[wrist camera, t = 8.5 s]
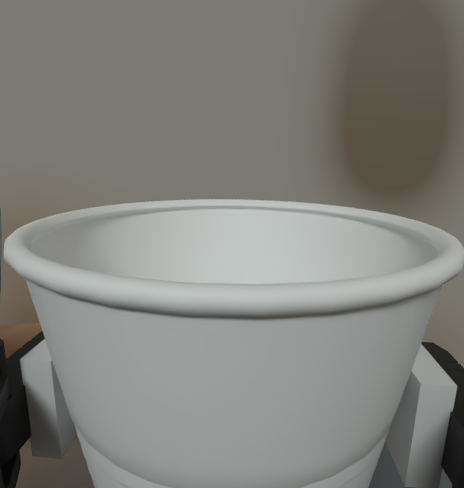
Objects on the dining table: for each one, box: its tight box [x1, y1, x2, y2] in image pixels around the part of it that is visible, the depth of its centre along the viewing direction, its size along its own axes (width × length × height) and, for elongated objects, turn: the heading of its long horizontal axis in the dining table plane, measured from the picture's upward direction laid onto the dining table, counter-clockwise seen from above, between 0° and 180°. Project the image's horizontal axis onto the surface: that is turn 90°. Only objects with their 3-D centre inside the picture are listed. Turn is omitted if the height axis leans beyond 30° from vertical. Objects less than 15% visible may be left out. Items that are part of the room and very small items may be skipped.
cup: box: [4, 199, 464, 488], centre depth 10 cm, size 10×10×11 cm
